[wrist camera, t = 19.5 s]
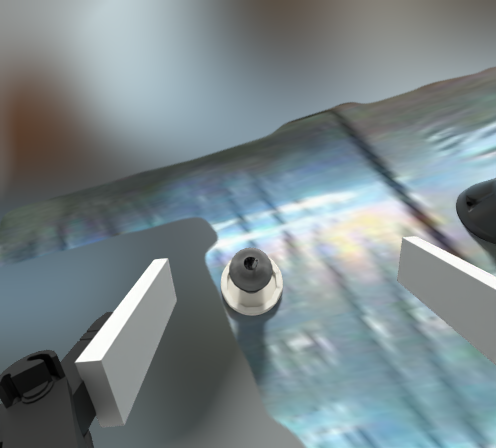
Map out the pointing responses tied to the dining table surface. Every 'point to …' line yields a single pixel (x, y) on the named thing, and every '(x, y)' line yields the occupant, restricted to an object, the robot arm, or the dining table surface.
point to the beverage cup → (250, 270)
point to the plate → (255, 301)
